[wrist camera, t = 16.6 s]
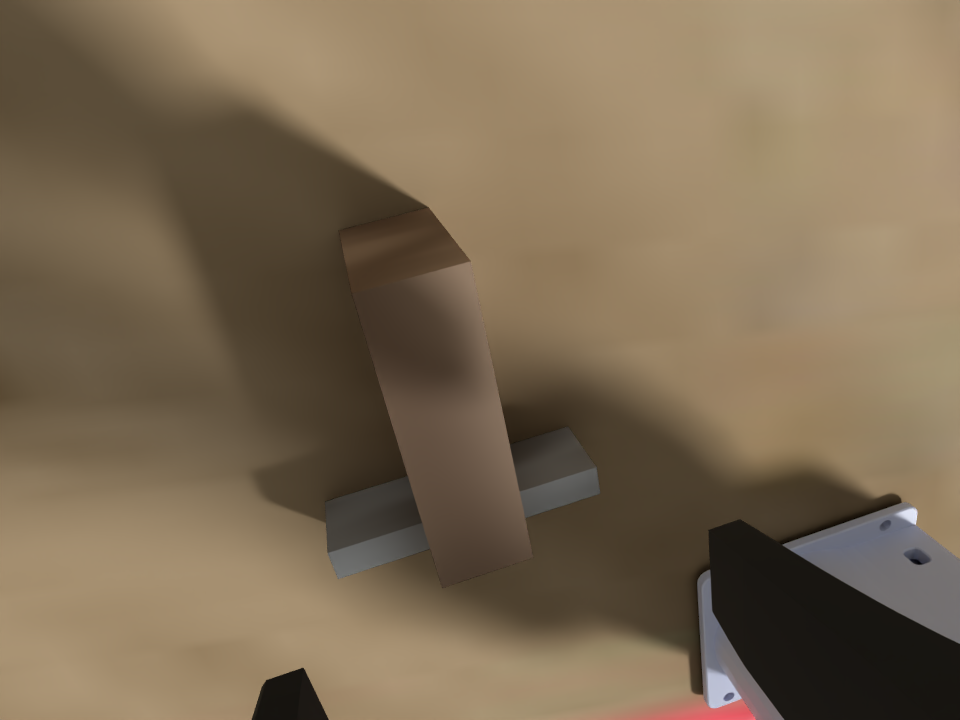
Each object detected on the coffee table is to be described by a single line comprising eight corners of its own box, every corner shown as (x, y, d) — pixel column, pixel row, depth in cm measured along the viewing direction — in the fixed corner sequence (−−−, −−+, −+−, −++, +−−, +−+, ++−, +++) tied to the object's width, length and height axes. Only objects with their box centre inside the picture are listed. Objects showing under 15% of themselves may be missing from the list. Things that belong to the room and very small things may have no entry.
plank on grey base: (528, 180, 18) (603, 225, 13) (571, 450, 22) (639, 551, 18) (230, 258, 17) (205, 333, 12) (334, 525, 21) (343, 652, 17)
